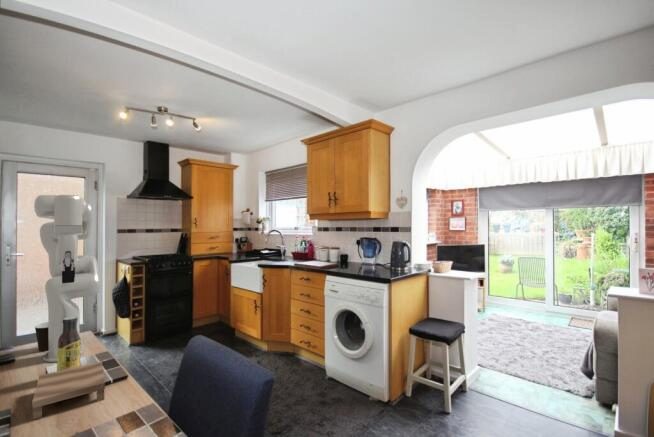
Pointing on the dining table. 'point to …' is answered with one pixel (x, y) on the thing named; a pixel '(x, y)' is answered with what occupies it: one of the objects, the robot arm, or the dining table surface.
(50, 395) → the walnut shelf
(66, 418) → the dining table surface
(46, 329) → the coffee mug
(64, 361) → the sauce bottle
